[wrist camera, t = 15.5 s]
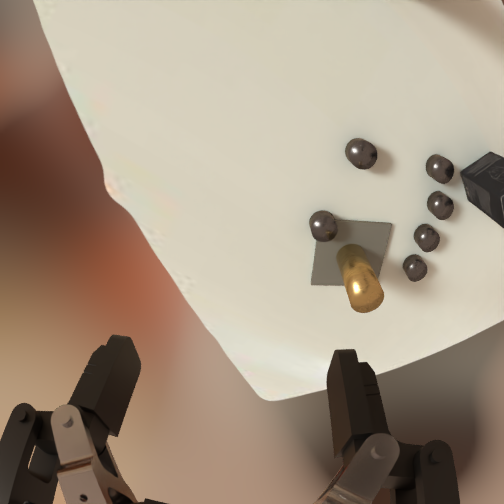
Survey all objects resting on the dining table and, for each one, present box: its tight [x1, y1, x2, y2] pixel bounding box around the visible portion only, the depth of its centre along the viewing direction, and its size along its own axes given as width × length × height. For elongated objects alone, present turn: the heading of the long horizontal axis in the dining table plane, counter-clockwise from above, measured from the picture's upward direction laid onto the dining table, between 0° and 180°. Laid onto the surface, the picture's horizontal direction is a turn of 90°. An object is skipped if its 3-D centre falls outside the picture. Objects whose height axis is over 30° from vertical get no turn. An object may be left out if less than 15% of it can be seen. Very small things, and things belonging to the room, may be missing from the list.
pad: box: [311, 220, 391, 286], centre depth 42 cm, size 11×11×1 cm
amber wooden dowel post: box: [336, 244, 384, 313], centre depth 38 cm, size 4×4×10 cm
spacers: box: [309, 138, 454, 282], centre depth 38 cm, size 21×22×2 cm
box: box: [460, 152, 504, 228], centre depth 29 cm, size 8×6×11 cm
